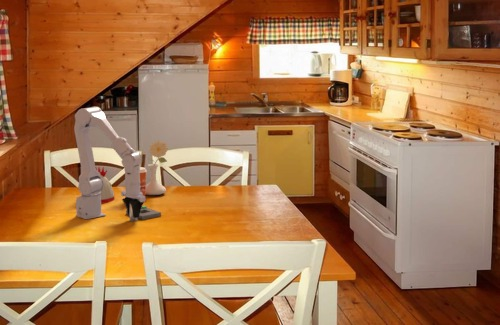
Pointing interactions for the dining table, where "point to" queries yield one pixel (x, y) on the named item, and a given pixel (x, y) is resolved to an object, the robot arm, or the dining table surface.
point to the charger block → (147, 213)
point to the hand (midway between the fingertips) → (133, 216)
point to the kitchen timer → (106, 188)
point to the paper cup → (142, 180)
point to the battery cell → (132, 214)
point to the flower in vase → (153, 186)
